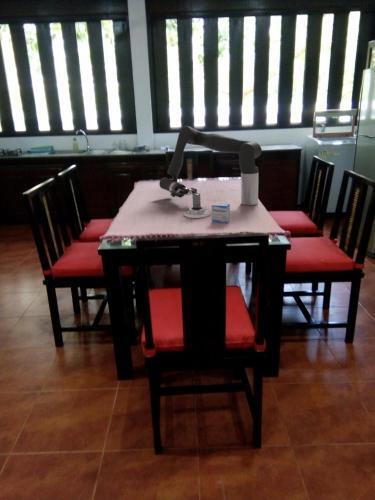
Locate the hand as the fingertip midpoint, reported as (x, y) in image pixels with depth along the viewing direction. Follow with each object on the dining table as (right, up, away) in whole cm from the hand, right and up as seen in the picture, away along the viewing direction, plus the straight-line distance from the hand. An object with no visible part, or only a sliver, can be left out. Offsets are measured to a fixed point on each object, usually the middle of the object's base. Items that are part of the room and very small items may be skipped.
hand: (188, 194), depth 211 cm
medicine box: (+16, -16, -20) cm, 31 cm away
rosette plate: (+5, -11, -7) cm, 14 cm away
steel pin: (+4, -11, -7) cm, 13 cm away
